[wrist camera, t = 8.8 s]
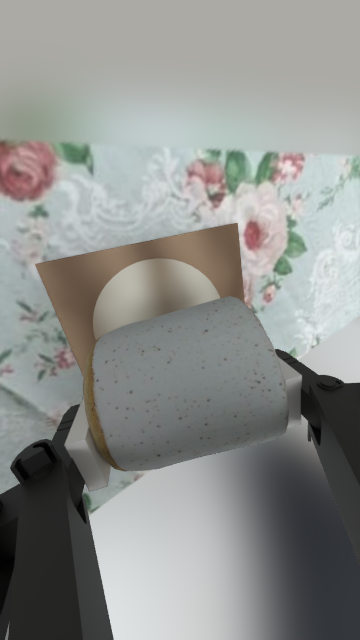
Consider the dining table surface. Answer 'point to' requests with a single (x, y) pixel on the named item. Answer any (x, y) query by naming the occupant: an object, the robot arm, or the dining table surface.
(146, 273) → the board
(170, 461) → the ceramic mug
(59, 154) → the dining table surface
